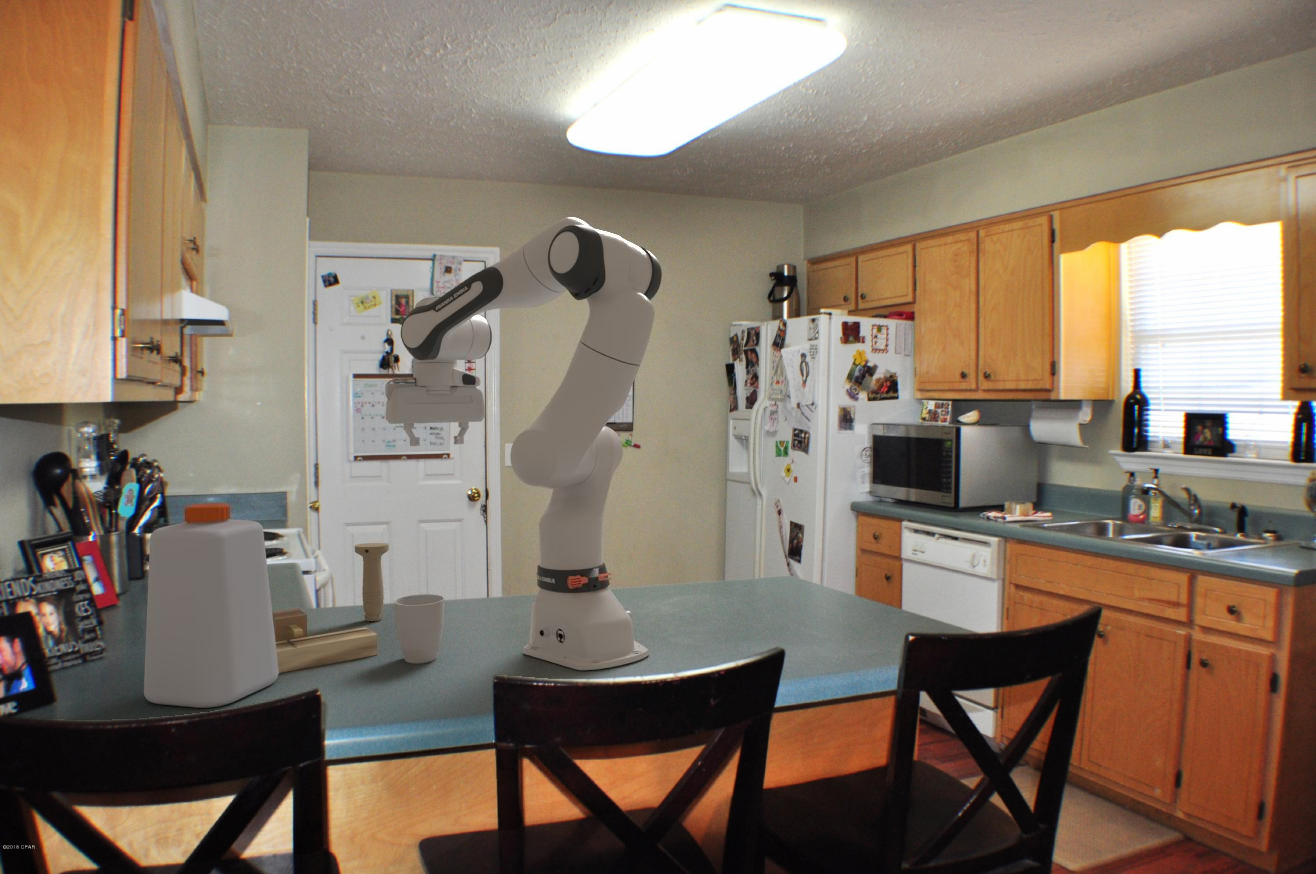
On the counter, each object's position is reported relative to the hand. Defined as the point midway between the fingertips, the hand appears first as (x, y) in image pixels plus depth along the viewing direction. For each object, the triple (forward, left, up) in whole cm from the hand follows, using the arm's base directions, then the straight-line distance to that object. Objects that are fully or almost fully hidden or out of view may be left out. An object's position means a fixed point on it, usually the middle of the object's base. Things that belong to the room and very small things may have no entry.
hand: (437, 445), depth 175 cm
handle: (0, +14, -34) cm, 37 cm away
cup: (-31, +16, -34) cm, 49 cm away
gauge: (-16, +33, -34) cm, 50 cm away
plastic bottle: (-27, +46, -34) cm, 64 cm away
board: (-21, +29, -34) cm, 49 cm away
